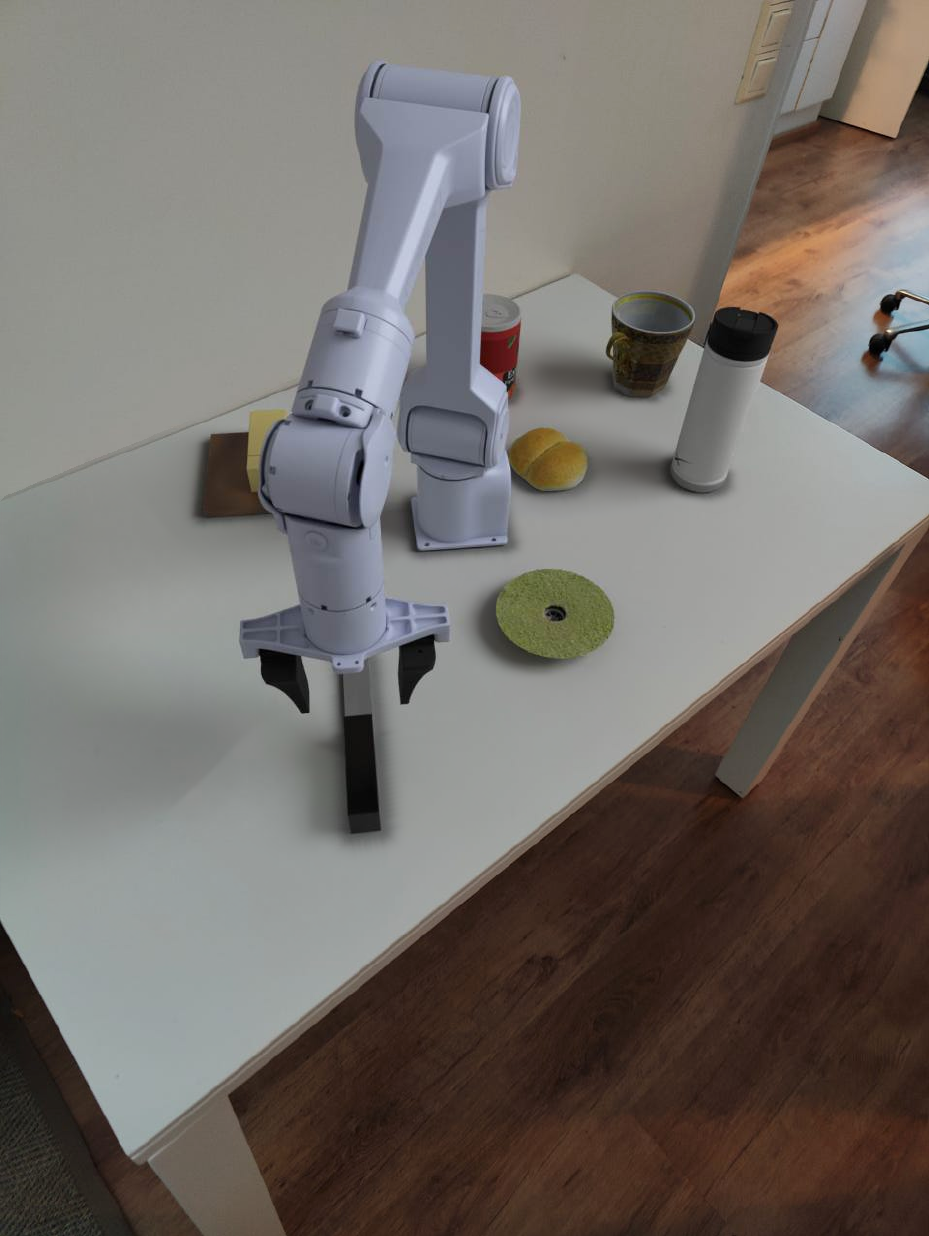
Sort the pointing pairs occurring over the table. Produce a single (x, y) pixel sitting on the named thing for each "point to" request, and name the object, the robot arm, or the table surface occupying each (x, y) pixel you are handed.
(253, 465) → the butter pat
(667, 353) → the ceramic cup
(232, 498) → the butter board
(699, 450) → the travel mug
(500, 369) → the canned food
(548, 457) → the bread roll
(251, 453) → the butter stick
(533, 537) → the table surface
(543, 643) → the green abrasive disc
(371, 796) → the two-tone black bar
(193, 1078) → the table surface
